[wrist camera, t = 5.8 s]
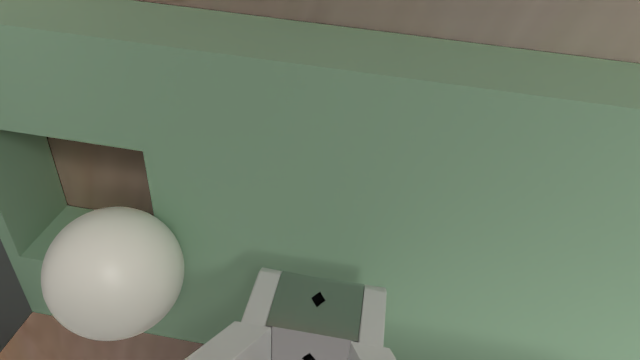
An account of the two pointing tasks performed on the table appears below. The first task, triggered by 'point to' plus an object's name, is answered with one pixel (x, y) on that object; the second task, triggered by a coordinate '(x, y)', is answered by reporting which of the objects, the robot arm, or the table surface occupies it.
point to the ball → (112, 273)
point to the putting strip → (339, 171)
